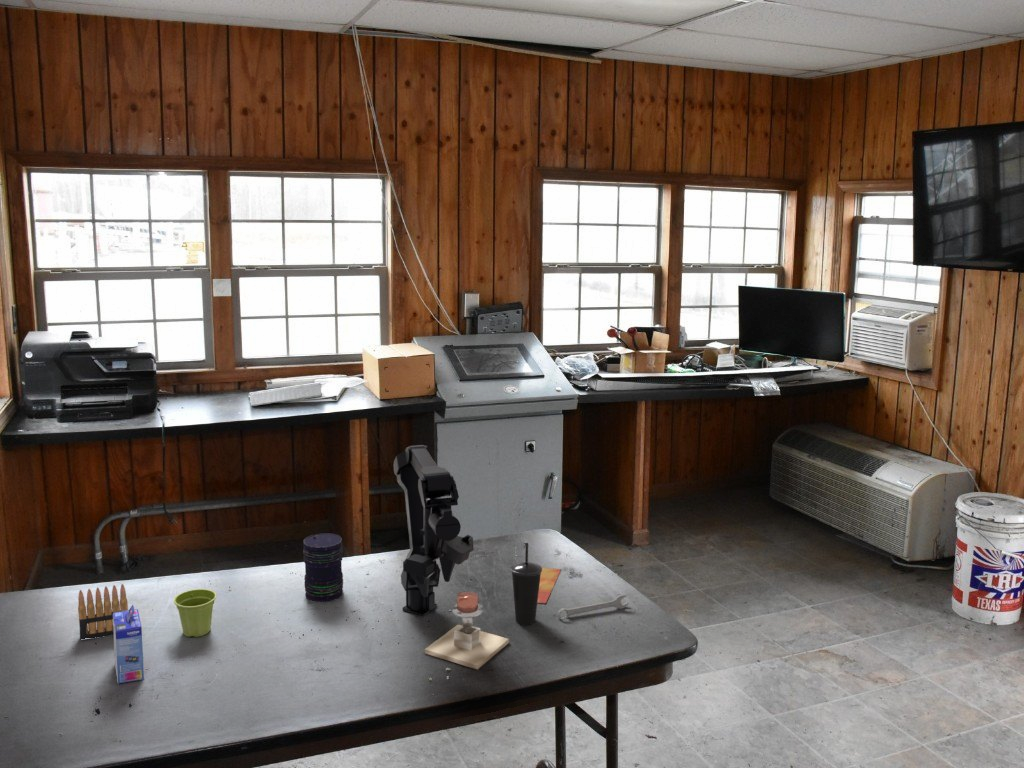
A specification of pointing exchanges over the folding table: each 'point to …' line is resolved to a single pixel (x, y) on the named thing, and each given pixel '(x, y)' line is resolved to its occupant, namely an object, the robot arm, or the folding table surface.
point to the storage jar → (323, 567)
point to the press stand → (467, 646)
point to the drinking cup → (526, 589)
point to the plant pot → (195, 611)
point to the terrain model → (547, 583)
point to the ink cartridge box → (128, 646)
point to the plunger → (467, 608)
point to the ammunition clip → (100, 612)
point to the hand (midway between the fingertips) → (436, 588)
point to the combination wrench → (594, 607)
